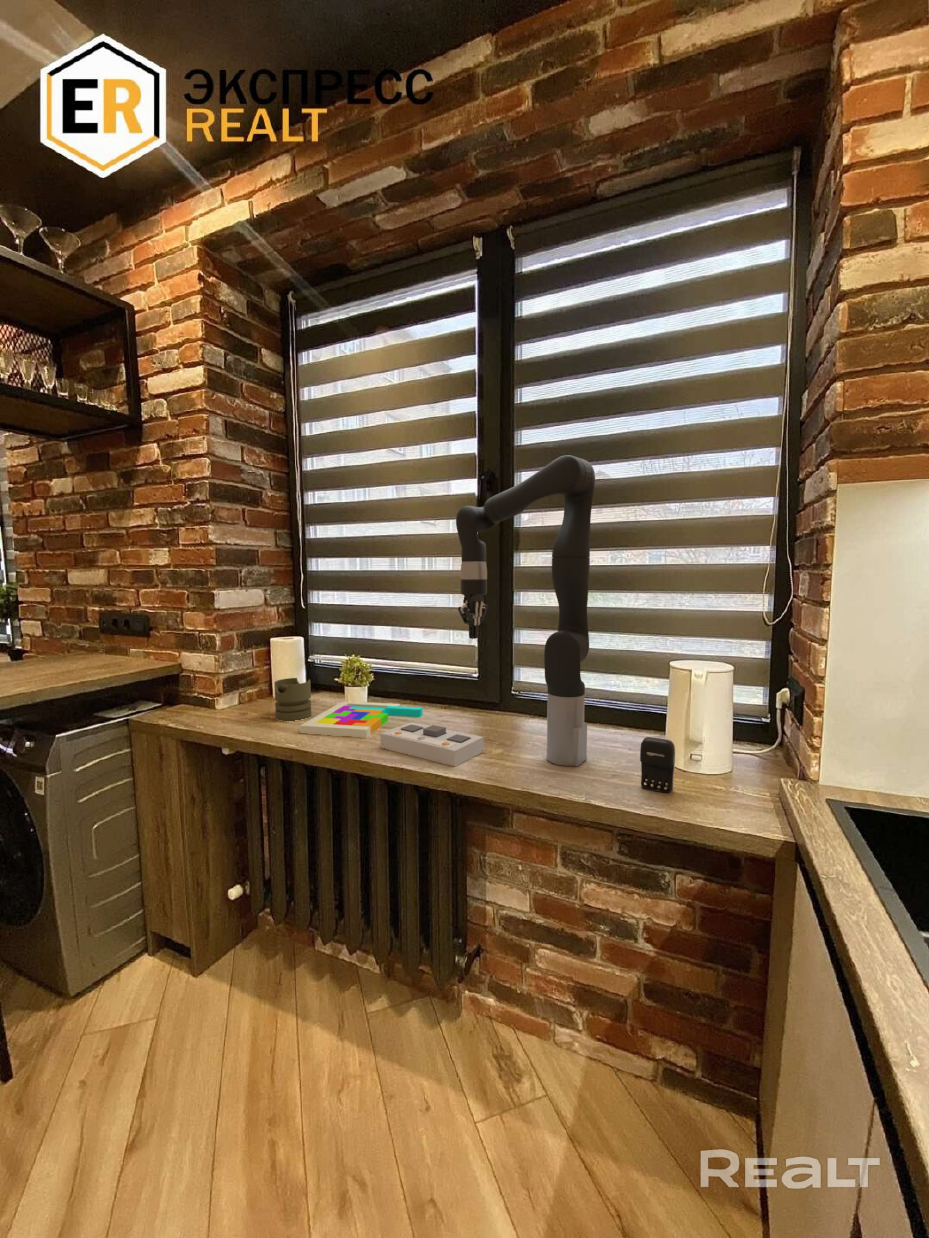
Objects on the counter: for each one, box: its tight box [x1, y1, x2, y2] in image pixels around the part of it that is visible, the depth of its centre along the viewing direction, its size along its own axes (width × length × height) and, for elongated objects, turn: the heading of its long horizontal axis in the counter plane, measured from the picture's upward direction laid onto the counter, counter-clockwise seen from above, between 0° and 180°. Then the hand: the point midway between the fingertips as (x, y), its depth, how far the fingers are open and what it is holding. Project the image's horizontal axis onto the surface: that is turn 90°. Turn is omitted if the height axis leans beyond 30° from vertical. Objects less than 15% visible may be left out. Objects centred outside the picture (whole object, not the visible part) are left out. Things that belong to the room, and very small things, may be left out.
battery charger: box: [639, 735, 676, 794], centre depth 114 cm, size 7×4×11 cm, turn 58°
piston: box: [273, 677, 312, 722], centre depth 173 cm, size 11×12×11 cm
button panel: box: [379, 721, 484, 767], centre depth 141 cm, size 25×13×4 cm, turn 56°
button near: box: [447, 734, 470, 743], centre depth 137 cm, size 4×4×3 cm
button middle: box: [423, 724, 447, 738], centre depth 142 cm, size 4×4×3 cm
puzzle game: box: [299, 700, 424, 739], centre depth 167 cm, size 30×3×30 cm
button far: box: [401, 725, 423, 732], centre depth 146 cm, size 4×4×3 cm
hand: (473, 638), depth 150 cm, fingers closed
